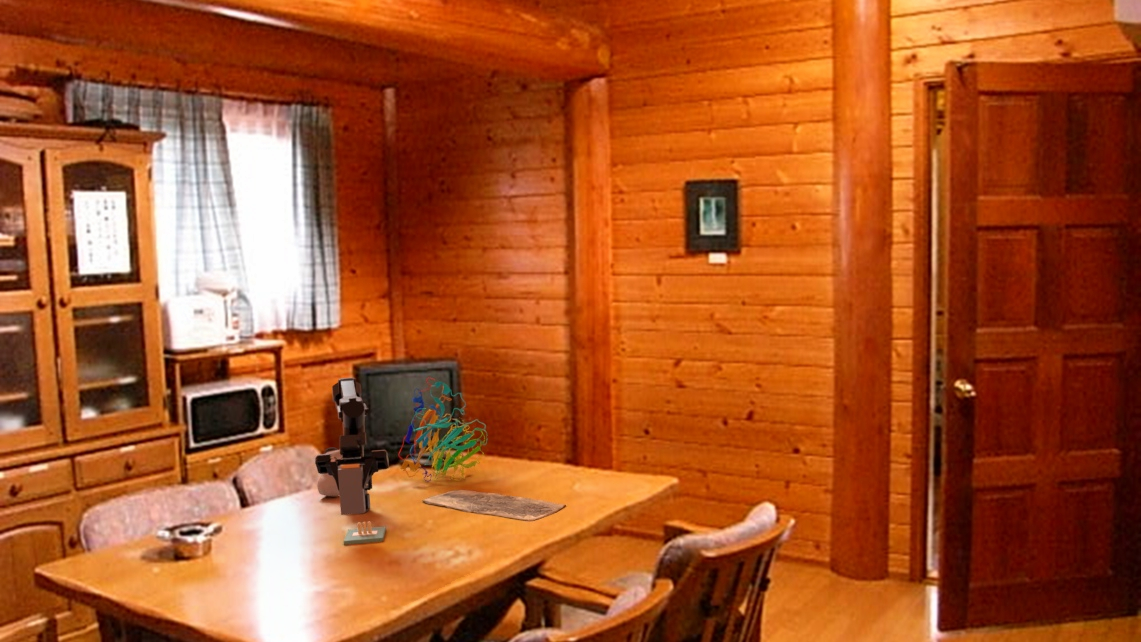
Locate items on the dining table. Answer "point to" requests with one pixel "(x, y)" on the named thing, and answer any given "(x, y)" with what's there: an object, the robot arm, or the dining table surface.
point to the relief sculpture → (495, 504)
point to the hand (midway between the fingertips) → (351, 488)
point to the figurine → (329, 478)
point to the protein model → (435, 440)
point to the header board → (365, 534)
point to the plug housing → (351, 489)
